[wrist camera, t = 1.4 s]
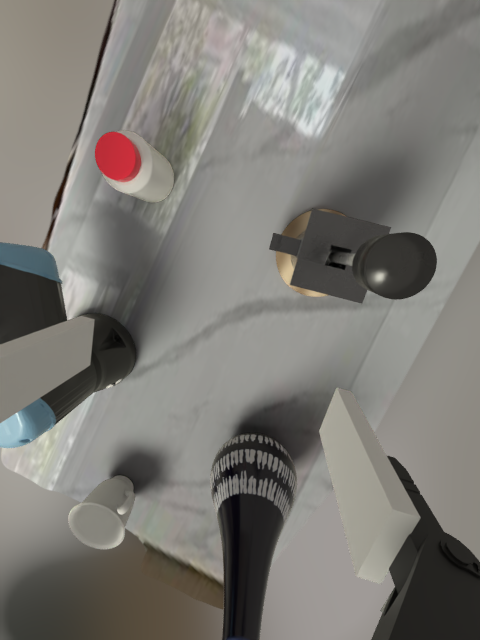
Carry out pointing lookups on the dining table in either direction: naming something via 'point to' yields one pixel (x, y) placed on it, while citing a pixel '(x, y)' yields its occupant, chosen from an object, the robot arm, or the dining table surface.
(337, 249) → the plunger
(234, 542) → the vase
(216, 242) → the dining table surface
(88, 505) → the teacup
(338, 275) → the french press
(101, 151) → the pill bottle
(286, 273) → the ring
